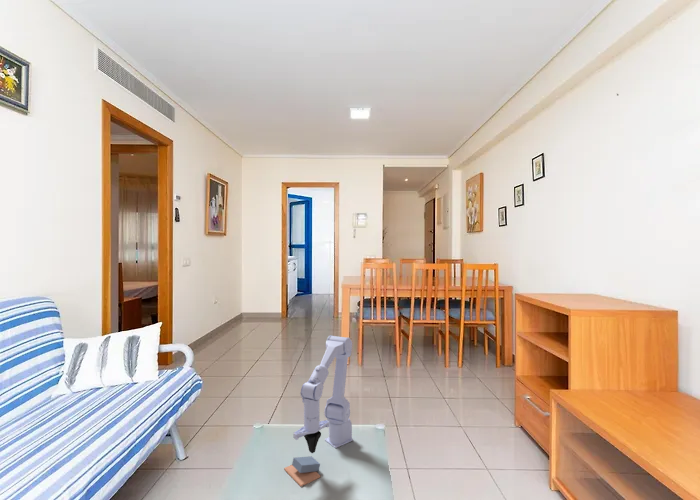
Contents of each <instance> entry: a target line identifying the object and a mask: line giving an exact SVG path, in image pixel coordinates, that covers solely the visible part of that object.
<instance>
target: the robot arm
mask: <svg viewBox="0 0 700 500" xmlns="http://www.w3.org/2000/svg"><path fill="white" fill-rule="evenodd" d="M352 349H353V341H352V340H351V337H346V336H345V337H344V336H338V335H337V336H336V335H328V336H327V338H326V341H325V352H324V354H323V356H322V359H321V361H320V364H317V365H316V366H315V368H314V369H313V371H312V373H311V375H310V377H309V378H308V381H306V382H304V383H303V384H302V385H301V389H300V393H299V394H300V397H301V401H302V403H303V426H302V427H300V428H299V429H297V430H296V431H294V432H293V434H292V435H293V440H296V441H297V440H299V438H302V437H304V439H305V441H306V443H307V447H308V451H309V453H311V454H314V453H315V452H316V449H317V445H318V442H319V440H320V438H321V437H322V432H321V431H322V429H324V428H328V437H327V438H326V437H325V438H324V441H325V442H326V443H328V445H331V447H333V448H334V449H336V448H339V447H342V446H344V445H346V444H348V443H350V442H352V441H354V438H353V432H352V431H353V425H352V421H351V418H350V417H351V408H350V407H351V406H350V404H351V402H350V401H348V399H347V398H346V397H345V391H346V381H347V373H348V371H347V370H348V361H349V357H351V355H352ZM335 359H336V360H335ZM334 360H335V370H334V377H333V378H334V379H333V385H332V386H333V387H332V396H331V397H329V398H327V399H326V404H325V407H324V410H323V411H324V412H323V413H324V414H323V415H324V418H326V420H321V419H320V400H321V397H322V395H323V391H324V384H325V383H326V380H327V378H328V376H329V368H330V366H331V364H332V363H333V361H334ZM320 420H321V421H320Z"/></svg>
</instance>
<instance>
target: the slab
mask: <svg viewBox="0 0 700 500" xmlns="http://www.w3.org/2000/svg"><path fill="white" fill-rule="evenodd" d="M291 463H292V464H291V465H293V466H294V467H295V468H296V469H297V470H298V471H299V472H300V473H305V472H315V471H316V472H320V471H319V470H320V467H321V463H320V462H319V461H318V460H316V459H315V458H314V457H313V456H309V455H308V456H297V457H293V459H292V462H291Z"/></svg>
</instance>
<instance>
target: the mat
mask: <svg viewBox="0 0 700 500" xmlns="http://www.w3.org/2000/svg"><path fill="white" fill-rule="evenodd" d="M283 469H284V472H286V473H287V474H288V475H289V476H290V478H292V479H293V480H294V481H295V483H296V484H297V485H299V486H300V487H301V486H302V487H303V485H304V486H305V485H308V484H309V483H311V482H314V481H317V480H318V479H319V478H321V475H320V474H319V472H318V471H315V472H305V473H300V472H299V471H298V470H297V469H296V468H295V467H294V466H293V465H292V464H290V465H288V466H286V467H284V468H283Z"/></svg>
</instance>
